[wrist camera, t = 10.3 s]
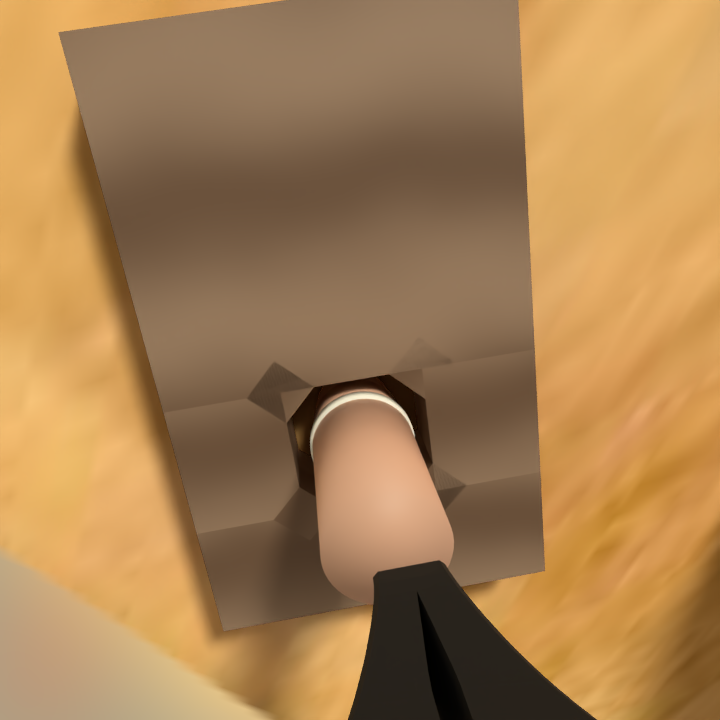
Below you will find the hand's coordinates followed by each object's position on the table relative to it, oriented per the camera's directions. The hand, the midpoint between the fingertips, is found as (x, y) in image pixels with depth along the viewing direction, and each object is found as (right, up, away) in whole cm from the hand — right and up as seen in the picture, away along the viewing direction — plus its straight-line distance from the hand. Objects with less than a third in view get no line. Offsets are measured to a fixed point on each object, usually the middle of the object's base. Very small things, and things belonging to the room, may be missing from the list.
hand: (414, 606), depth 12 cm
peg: (-1, +3, +9) cm, 10 cm away
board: (-2, +6, +8) cm, 10 cm away
